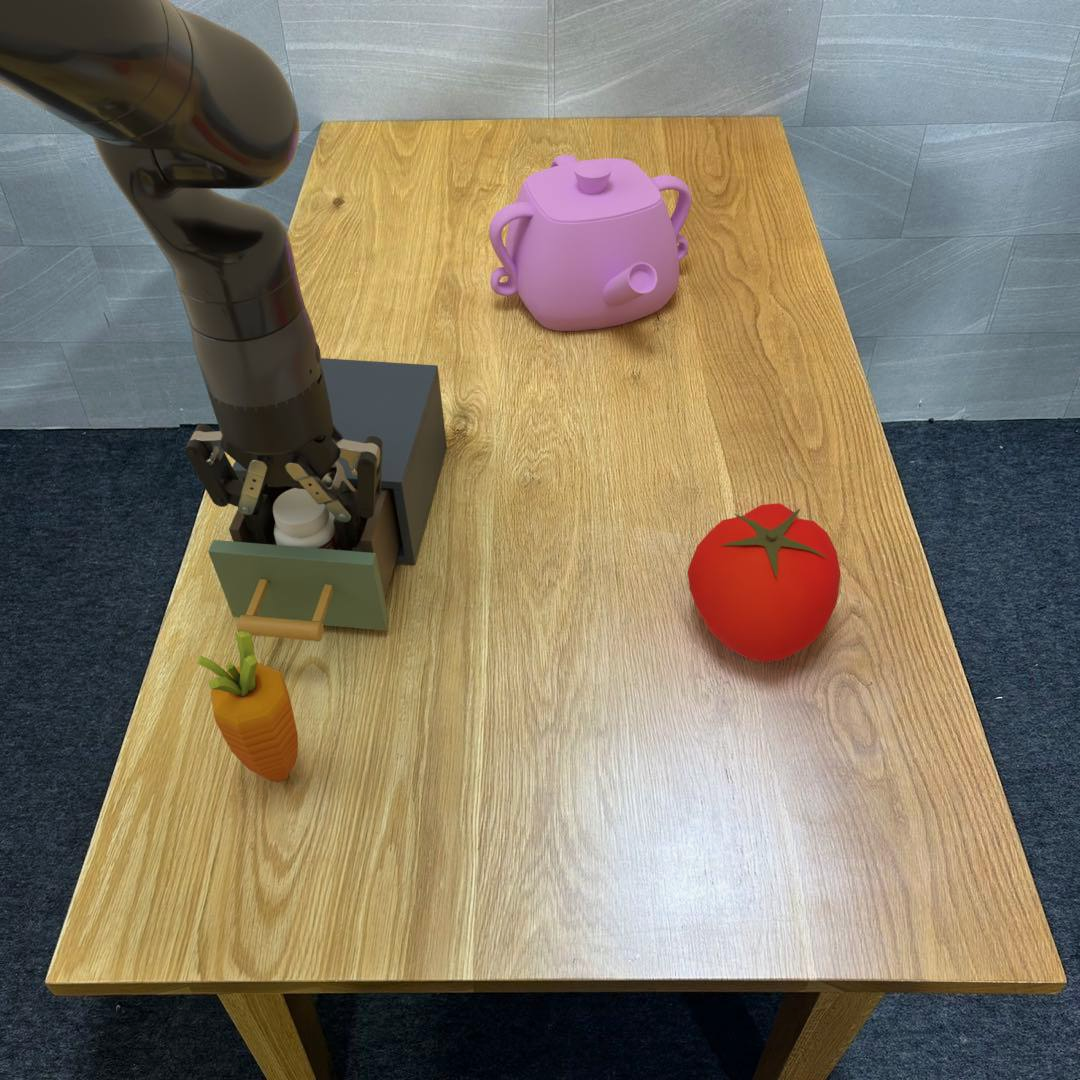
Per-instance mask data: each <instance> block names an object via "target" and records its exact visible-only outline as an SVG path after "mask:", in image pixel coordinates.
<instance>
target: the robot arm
mask: <svg viewBox="0 0 1080 1080" xmlns="http://www.w3.org/2000/svg"><path fill="white" fill-rule="evenodd" d="M0 86H2V87H3V88H6V89H7V90H9V91H11V92H13V93H15V94H16V95H18V96H20V97H22V98H23V99H25V100H27V101H28V102H31V103H32V104H34V105H36V106H37V107H39V108H41V109H42V110H44V111H46V112H48V113H50V114H51V115H54V116H55V117H57V118H59V119H61V120H63V121H64V122H66V123H68V124H70V125H71V126H73V127H75V128H77V129H78V130H80V131H82V132H83V133H85V134H87V135H89V136H91V137H92V140H93V144H94V145H95V148H96V150H97V153H98V155H99V157H100V159H101V161H102V163H103V165H104V166H105V168H106V170H107V172H108V174H109V176H110V177H111V179H112V180H113V182H114V184H115V185H116V186H117V187H118V189H119V191H120V192H121V193H122V195H123V196H124V197H125V199H126V201H127V202H128V204H129V205H130V207H132V209H133V210H134V212H135V213H136V215H137V217H138V218H139V219H140V222H142V224H143V226H144V227H145V229H146V230H147V231H148V234H149V235H150V236H151V238H152V239H153V241H154V242H155V244H156V245H157V247H158V248H159V250H160V251H161V253H162V254H163V255H164V257H165V259H166V260H167V262H168V264H169V266H170V267H171V270H172V273H173V275H174V278H175V282H176V285H177V288H178V291H179V295H180V299H181V301H182V304H183V307H184V310H185V313H186V317H187V320H188V322H189V326H190V331H191V337H192V338H191V339H192V343H193V344H192V345H193V350H194V353H195V357H196V360H197V363H198V366H199V370H200V372H201V376H202V379H203V382H204V385H205V388H206V392H207V395H208V398H209V400H210V404H211V407H212V409H213V413H214V415H215V418H216V422H217V424H218V428H219V430H217V431H216V430H215V431H214V430H213V428H212V427H211V426H210V425H208V424H206V423H199V424H197V426H196V428H195V429H194V431H193V433H192V435H191V437H190V439H189V440H188V442H187V444H186V446H185V448H184V454H185V455H186V457H187V459H188V460H189V462H190V464H191V466H192V468H193V470H194V471H195V473H196V475H197V477H198V478H199V480H200V482H201V484H202V485H203V487H204V489H205V491H206V493H207V494H208V496H209V498H210V500H211V501H212V503H213V504H214V505H216V506H218V507H221V508H225V507H227V506H228V505H232V506H234V507H237V510H239V511H240V512H241V513H243V514H244V517H245V520H246V523H247V526H248V529H249V532H250V535H251V536H252V537H253V538H254V539H258V542H259V544H270V545H271V543H272V541H273V538H274V526H275V523H276V522H275V519H274V515H273V512H272V508H271V505H270V502H269V498H268V495H264V494H262V492H263V489H264V486H265V483H267V487H284V486H290V487H294V488H297V489H305V490H306V491H307V492H308V493H309V494H310V495H311V497H312V498H313V499H314V500H315V501H316V503H317V504H319V505H320V504H324V505H325V506H326V507H327V509H328V510H329V511H330V512H331V513H332V514H333V516H334V517H335V519H334V521H333V522H334V526H335V530H336V535H337V539H338V543H339V547H340V550H344V551H352V549H353V547H357V545H358V542H359V539H360V536H361V533H362V530H363V529H362V525H361V519H360V516H361V517H363V518H371V517H372V516H373V515H374V511H375V506H376V503H377V500H378V498H379V496H380V493H381V477H382V445H383V443H382V441H381V439H379V438H378V437H376V436H369V437H367V438H366V441H365V443H361V442H356V441H350V440H345V439H343V437H342V435H341V433H340V432H339V431H338V430H337V429H336V427H335V426H334V424H333V421H332V413H331V406H330V402H329V397H328V393H327V388H326V384H325V379H324V374H323V370H322V365H321V358H322V355H321V349H320V345H319V344H318V342H317V339H316V333H315V330H314V326H313V323H312V320H311V317H310V315H309V312H308V309H307V308H306V305H305V301H304V298H303V294H302V290H301V285H300V281H299V276H298V272H297V267H296V263H295V257H294V252H293V248H292V244H291V240H290V237H289V234H288V231H287V229H286V226H285V225H284V223H283V222H282V220H281V219H280V218H279V216H277V215H276V214H275V213H273V212H272V211H270V210H269V209H266V208H264V207H262V206H259V205H255V204H252V203H249V202H246V201H242V200H238V199H236V198H231V197H229V196H226V195H223V194H221V193H220V192H218V191H215V190H249V189H250V190H251V189H258V188H262V187H264V186H267V185H269V184H270V185H271V184H272V183H273V182H275V181H277V179H279V178H280V177H282V175H283V174H284V173H285V172H286V171H287V169H288V168H289V167H290V165H291V164H292V162H293V160H294V158H295V156H296V152H297V150H298V145H299V141H300V140H299V139H300V117H299V111H298V106H297V102H296V99H295V96H294V93H293V91H292V89H291V86H290V84H289V82H288V81H287V78H286V77H285V75H284V73H283V72H282V70H281V68H280V67H279V66H278V64H277V63H276V62H275V61H274V60H273V59H272V58H271V56H270V55H269V53H267V52H266V51H265V50H264V49H262V47H260V46H259V45H257V44H256V43H255V42H254V41H252V40H250V39H248V38H246V37H245V36H243V35H241V34H239V33H237V32H235V31H234V30H231V29H229V28H227V27H225V26H223V25H221V24H219V23H217V22H214V21H213V20H210V19H208V18H206V17H204V16H202V15H199V14H197V13H194V12H191V11H188V10H185V9H182V8H180V7H177V6H175V5H174V4H173V3H172V2H171V1H170V0H0ZM214 189H215V190H214ZM227 455H228V456H229V457H230V458H232V460H234V462H235V461H236V462H238V463H239V464H240V465H241V466H242V467H243V468H245V469H246V470H247V471H248V472H247V476H246V479H245V482H241V481H239V480H238V477H237V475H236V473H235V471H234V470H233V468H232V467H233V465H232V464H231V462H230V460H229V458H228V456H227ZM339 457H341V458H343V459H345V460H346V461H347V462H348V464H349V467H350V469H351V470H352V471H351V473H352V475H355V476H356V475H357V490H356V489H355V488H354V487H353V486H352V484H351V483H350V482H349V481H348V479H347V478H346V476H345V471H344V468H343V466H342V465H341V464H340V463H339V461H338V459H339ZM321 480H322V481H321ZM339 496H340V497H339Z"/></svg>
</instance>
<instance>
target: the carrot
mask: <svg viewBox="0 0 1080 1080" xmlns="http://www.w3.org/2000/svg"><path fill="white" fill-rule="evenodd" d="M235 637H236V638H235V639H236V644H237V647H238V653H239V666H235V665H234V664H233V662H229V663H227V664H226V665H225V668H223V667H221V666H220V665H219V664H218V663H216V662H215V661H213V660H211V659H209V658H207V657H205V656H203V655H199V657H198V658H197V664H198V665H199V666H201V667H203V668H204V669H207V670H209V671H211V672H212V673H214V675H217V677H213V678H211V679H209V680H208V686H209V688H210V696H211V704H212V710H213V718H214V721H215V724H216V725H217V727H218V729H219V732H220V734H221V736H222V737H223V739H224V740H225V742H226V745H227V746H228V748H229V750H230V751H231V752H232V754H233V755H234V756H235V757H236V759H238V761H240V763H241V764H243V765H244V766H245V767H246V769H248V771H250V772H252V773H254V774H256V775H257V776H259V777H261V778H264V779H266V780H268V781H270V782H273V783H281V782H285V781H286V780H287V778H288V777H289V776H290V774H291V772H292V771H293V770H294V767H295V766H296V763H297V759H298V756H299V738H298V737H299V736H298V728H297V724H296V719H295V715H294V710H293V706H292V701H291V698H290V694H289V693H290V692H289V690H288V687H287V683H286V680H285V677H284V674H282V672H280V671H279V670H277V669H274V668H272V667H270V666H268V665H265V664H263V663H260V662H259V661H258V659H257V657H256V656H255V655H256V654H255V648H254V643H253V638H252V635H250V633H249V632H244V631H240V632H238V631H237V632H236V633H235ZM225 669H226V670H225Z"/></svg>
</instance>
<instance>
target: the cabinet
mask: <svg viewBox="0 0 1080 1080" xmlns="http://www.w3.org/2000/svg"><path fill="white" fill-rule="evenodd" d="M321 365H322V370H323V374H324V379H325V384H326V388H327V393H328V397H329V402H330V406H331V413H332V421H333V424H334V426H335V427H336V429H337V430H338V431H339V432H340V433H341V435H342V437H343V439H345V440H350V441H356V442H361V443H365V441H366V438H367V437H369V436H376V437H378V438H379V439H381V441H382V443H383V445H382V477H381V488H391V489H393V492H394V498H395V503H396V509H397V515H398V521H399V527H400V532H401V538H402V542H401V545H400V548H399V552H398V555H397V559H396V562H395V564H401V565H413V566H415V565H416V563H417V559H418V556H419V552H420V548H421V545H422V541H423V537H424V534H425V530H426V526H427V522H428V519H429V515H430V512H431V508H432V505H433V501H434V497H435V493H436V490H437V487H438V482H439V479H440V475H441V471H442V468H443V464H444V461H445V457H446V453H447V449H448V445H447V435H446V428H445V427H446V425H445V418H444V408H443V399H442V391H441V383H440V374H439V365H437V364H422V363H421V364H420V363H405V362H391V361H389V362H387V361H375V360H374V361H373V360H357V359H341V358H327V357H326V358H325V357H321ZM338 461H339V463H340V464H341V465H342V466H343V468H344V471H345V476H346V478H347V479H348V481H349V482H350V483H351V484H352V486H357V475H356V476H355V475H352V473H351V471H352V470H351V469H350V467H349V464H348V462H347V461H346V460H345V459H343V458H341V457H339V459H338ZM232 468H233V470H234V471H235V473H236V475H237V477H238V480H239V481H241V482H245V479H246V476H247V472H248V471H247V470H246V469H245V468H243V467H242V466H241V465H240V464H239V463H238V462H236V461H235V460H234V463H233V465H232ZM321 481H322V480H321Z"/></svg>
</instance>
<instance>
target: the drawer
mask: <svg viewBox="0 0 1080 1080" xmlns="http://www.w3.org/2000/svg"><path fill="white" fill-rule="evenodd" d="M353 487H354V488H355V489H356V490H357V486H353ZM293 488H294V487H290V486H284V487H267V483H265V486H264V489H263V492H262V494H264V495H268V498H269V502H270V505H271V508H272V512H273V504H274V502H275V500H276V499H277V498H278V497H279V496H280V495H281V494H283V493H284V492H286V491H288V490H290V489H293ZM339 497H340V496H339ZM360 519H361V525H362V529H363V530H362V533H361V536H360V539H359V542H358V545H357V547H353V549H352V551H344V550H332V549H319V548H307V547H295V546H282V545H277V544H276V541H275V536H274V538H273V541H272V543H271V545H270V544H259V542H258V539H254V538H253V537H252V536H251V535H250V532H249V529H248V526H247V523H246V520H245V517H244V514H243V513H241V512H240V511H239V510H238V509H237V510H236V512H235V515H234V517H233V518H232V521H231V523H230V525H229V528H228V531H229V534H230V537H231V541H230V540H222V539H221V540H219V539H213V540H212V541H211V544H210V546H209V548H208V550H207V552H208V555H209V557H210V561H211V563H212V566H213V568H214V571H215V573H216V577H217V579H218V582H219V584H220V586H221V589H222V592H223V594H224V597H225V599H226V602H227V605H228V607H229V610H230V613H231V615H232V617H233V618H238V619H237V624H236V631H237V633H238V632H240V631H244V632H249V633H250V635H251V636H253V637H254V636H255V637H265V638H266V637H267V638H277V639H288V640H297V641H298V640H299V641H310V642H311V641H312V642H321V641H322V639H323V636H324V631H325V630H324V629H325V628H324V626H330V627H343V628H351V629H353V628H354V629H365V630H376V631H386V630H387V629H388V624H389V620H390V618H389V613H388V608H387V602H386V596H387V592H388V589H389V586H390V583H391V579H392V577H393V576H392V575H393V572H394V569H395V566H396V563H395V562H396V559H397V555H398V552H399V548H400V545H401V542H402V538H401V532H400V527H399V521H398V515H397V509H396V503H395V498H394V492H393V489H391V488H381V493H380V496H379V498H378V500H377V503H376V506H375V511H374V515H373V516H372V517H371V518H363V517H361V516H360Z"/></svg>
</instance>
